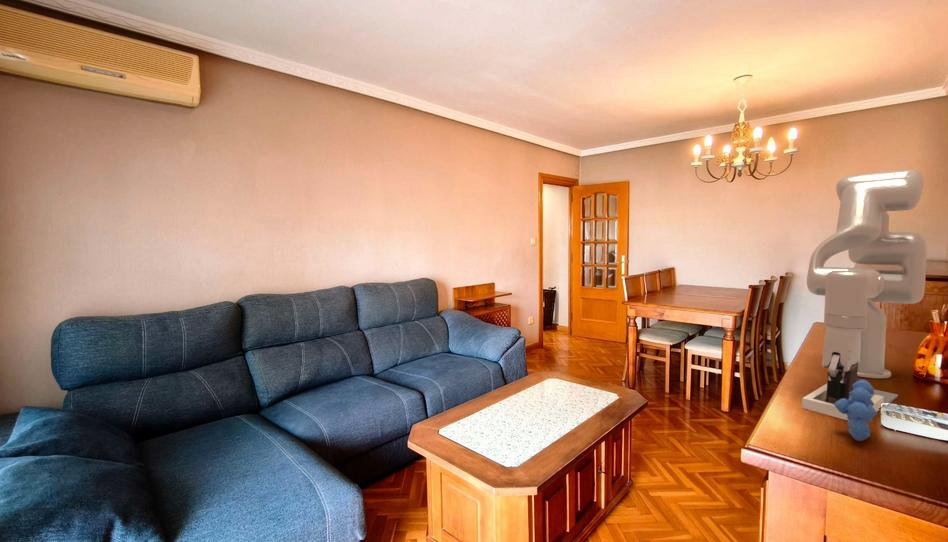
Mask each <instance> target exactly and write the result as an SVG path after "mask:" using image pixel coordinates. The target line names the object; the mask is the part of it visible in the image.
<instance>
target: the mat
mask: <svg viewBox="0 0 948 542" xmlns="http://www.w3.org/2000/svg"><path fill="white" fill-rule="evenodd" d="M873 391H874V392H875V393H874V394H872V395H871V396H872V397H873V396H874V395H879V396H884V399H883V403H890V404H891V403H892V402H893V401H895V399H897V398H898V397H899V394H896V393H892V392H888V391H883V390H878V389H874V390H873Z"/></svg>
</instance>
